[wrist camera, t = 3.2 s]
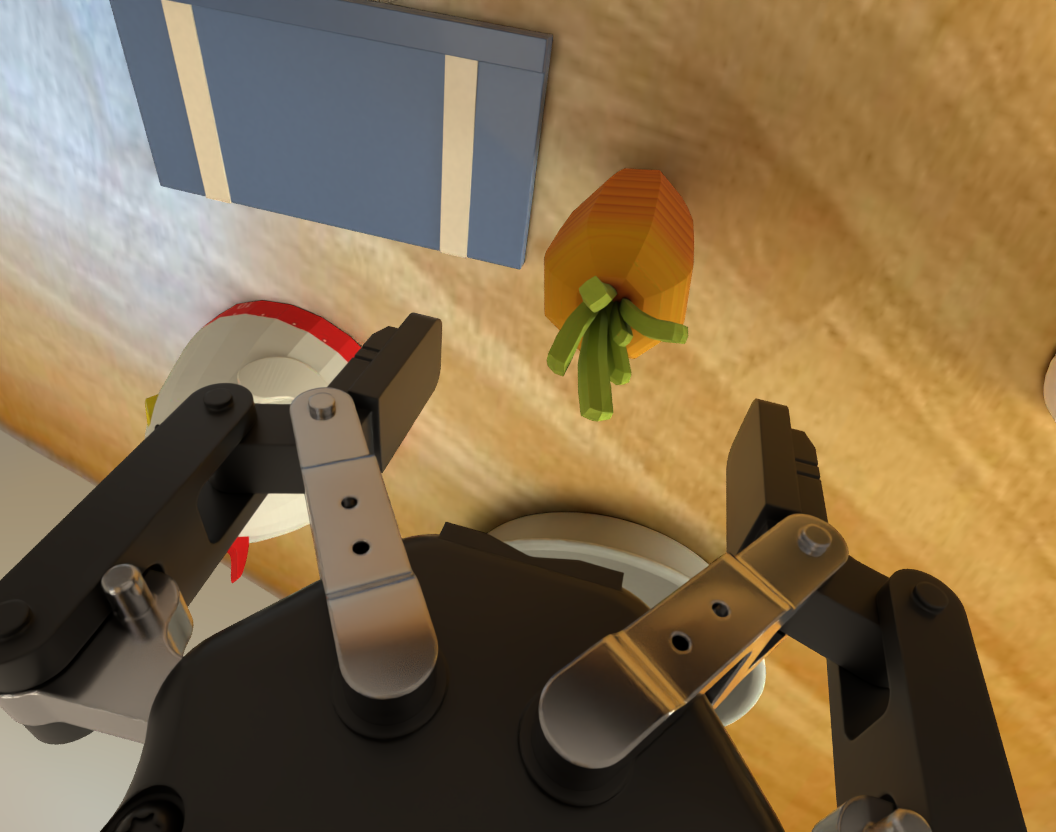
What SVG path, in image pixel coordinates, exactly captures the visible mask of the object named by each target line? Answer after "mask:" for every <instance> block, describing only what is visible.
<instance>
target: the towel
mask: <svg viewBox="0 0 1056 832" xmlns="http://www.w3.org/2000/svg"><path fill="white" fill-rule="evenodd" d="M109 1H110V4H111V8H112V11H113V15H114V19H115V22H116V26H117V30H118V33H119V37H120V40H121V44H122V48H123V51H124V55H125V58H126V62H127V66H128V69H129V73H130V77H131V80H132V84H133V87H134V91H135V95H136V98H137V102H138V106H139V109H140V113H141V116H142V120H143V124H144V127H145V131H146V135H147V138H148V142H149V145H150V149H151V153H152V156H153V160H154V163H155V167H156V171H157V174H158V178H159V182H160V185H161V186H163V187H168V188H172V189H176V190H181V191H185V192H189V193H194V194H198V195H202V196H206V198H209V199H213V200H218V201H222V202H226V203H236V204H241V205H245V206H249V207H254V208H258V209H262V210H267V211H271V212H275V213H279V214H284V215H288V216H292V217H297V218H301V219H305V220H309V221H314V222H318V223H322V224H327V225H331V226H335V227H340V228H344V229H348V230H352V231H357V232H361V233H365V234H370V235H374V236H378V237H382V238H387V239H391V240H395V241H400V242H404V243H408V244H413V245H417V246H421V247H425V248H430V249H434V250H438V251H440V252H441V253H445V254H449V255H454V256H458V257H462V258H467V257H468V258H473V259H477V260H481V261H486V262H490V263H494V264H498V265H503V266H507V267H511V268H516V269H521V267H522V265H523V264H524V260H525V252H526V244H527V236H528V228H529V221H530V213H531V205H532V197H533V189H534V182H535V174H536V166H537V158H538V150H539V142H540V135H541V127H542V119H543V111H544V103H545V95H546V88H547V80H548V72H549V64H550V56H551V48H552V41H553V35H551V34H546V33H540V32H535V31H530V30H524V29H519V28H514V27H508V26H503V25H498V24H492V23H487V22H482V21H476V20H471V19H466V18H460V17H455V16H450V15H444V14H439V13H434V12H428V11H423V10H418V9H412V8H407V7H402V6H396V5H391V4H386V3H380V2H375V1H370V0H109Z"/></svg>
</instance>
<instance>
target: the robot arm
mask: <svg viewBox="0 0 1056 832" xmlns="http://www.w3.org/2000/svg"><path fill="white" fill-rule="evenodd" d="M441 344H442V322H441V320H440V319H438V318H434V317H429V316H425V315H421V314H417V313H411V314H410V315H409V316H408V317H407V318H406V319H405V321H404V322H403V323H402V324H401V326H400V327H399V328H395V327H391V326H388V327H386V328H384V329H382V330H380V331H378V332H376V333H374V334H372V335H371V337H370V338H369V339H368V340H367V341H366V342H365V343H364V345H363V346H362V348H360V349H359V350H358V352H357V353H356V354H355V356H354V358H353V357H352V358H351V360H350V361H349V362H348V363H347V364H346V365H345V367H344V368H343V369H342V370H341V371H340V372H339V373H338V375H337V376H336V377H335V378H334V379H333V380H332V382H331V383H330V384H329V385H328V386H327V387H321V388H314V389H310V390H307V391H305V392H303V393H301V394H299V395H298V396H297V397H295V398H294V400H293V401H292V402H291V404H261V403H254V399H253V395H252V393H251V392H250V390H249V389H247V388H246V387H244V386H242V385H238V384H234V383H217V384H212V385H208V386H205V387H202V388H200V389H198V390H196V391H195V392H193V393H192V394H191V395H190V396H189V397H188V398H187V399H186V400H185V401H184V402H183V403H181V404H180V405H179V406H178V407H177V408H176V409H175V410H174V411H173V412H172V413H171V414H170V415H169V416H168V417H167V418H166V419H165V420H164V421H163V422H162V423H161V424H160V425H159V426H158V427H157V428H156V429H155V430H154V431H153V432H152V433H151V434H150V435H149V436H148V437H147V438H146V439H145V440H144V441H143V442H142V443H141V444H140V445H138V446H137V447H136V448H135V449H134V450H133V451H132V452H131V453H130V454H129V455H128V456H127V457H126V458H125V459H124V460H123V461H122V462H121V463H120V464H119V465H118V466H117V467H116V468H115V469H114V470H113V471H112V472H111V473H110V474H109V475H108V476H107V477H106V478H105V479H104V480H103V481H102V482H101V483H100V484H99V485H98V486H96V487H95V489H93V490H92V492H90V493H89V494H88V495H87V496H86V497H85V498H84V499H83V500H82V501H81V502H80V503H79V504H78V505H77V506H76V507H75V508H74V509H73V510H72V511H71V512H70V513H69V514H68V515H67V516H66V517H65V518H64V519H63V520H62V521H61V522H60V523H59V524H58V525H57V526H56V527H55V528H53V529H52V530H51V531H50V532H49V533H48V534H47V535H46V536H45V537H44V538H43V539H42V540H41V541H40V542H39V543H38V544H37V545H36V546H35V547H34V548H33V549H32V550H31V551H30V552H29V553H28V554H27V555H26V556H25V557H24V558H23V559H22V560H21V561H20V562H19V563H18V564H17V565H16V566H15V567H14V568H13V569H11V570H10V571H9V572H8V573H7V574H6V575H5V576H4V577H3V578H2V579H1V580H0V707H1V708H2V709H3V710H4V711H5V712H6V713H7V714H8V715H9V716H10V717H11V718H13V719H14V720H15V721H16V722H18V723H20V724H23V725H24V726H25V727H26V728H27V729H28V730H29V731H30V732H31V733H32V734H33V735H34V736H35V737H36V738H37V739H38V740H40V741H42V742H44V743H48V744H65V743H69V742H73V741H75V740H78V739H80V738H83V737H85V736H87V735H88V734H90V733H92V732H93V731H98V732H102V733H106V734H109V735H113V736H116V737H121V738H124V739H128V740H131V741H135V742H139V743H143V744H144V747H143V750H142V754H141V758H140V761H139V764H138V767H137V769H136V772H135V775H134V778H133V780H132V782H131V784H130V786H129V789H128V791H127V793H126V795H125V797H124V799H123V801H122V803H121V804H120V806H119V808H118V809H117V811H116V812H115V813H114V815H113V816H112V818H111V819H110V820H109V821H108V823H107V824H106V825H105V826H104V827H103V829H102V830H101V831H100V832H785V831H784V829H783V827H782V825H781V823H780V821H779V819H778V817H777V816H776V814H775V812H774V810H773V809H772V807H771V805H770V804H769V802H768V800H767V799H766V797H765V795H764V793H763V792H762V790H761V788H760V787H759V785H758V783H757V782H756V780H755V778H754V777H753V775H752V773H751V771H750V770H749V768H748V766H747V765H746V763H745V761H744V760H743V758H742V756H741V754H740V753H739V751H738V749H737V748H736V746H735V744H734V743H733V741H732V739H731V738H730V736H729V734H728V732H727V731H726V729H725V727H724V726H723V724H722V722H721V721H720V719H719V717H718V716H717V714H716V712H715V709H716V708H717V707H718V706H719V704H720V703H721V702H722V701H723V700H724V699H725V698H726V697H727V696H728V695H729V694H730V692H731V691H732V690H733V689H734V688H735V687H736V686H737V685H738V683H739V682H740V681H741V680H742V679H743V678H744V677H745V676H747V675H748V674H749V673H750V672H751V671H752V670H753V669H754V668H755V667H756V666H757V665H758V664H759V663H760V662H761V661H762V660H763V659H764V658H765V657H766V656H767V655H768V654H769V653H770V652H772V651H773V650H774V649H775V648H776V647H777V646H778V645H779V644H780V643H781V642H782V641H783V640H784V639H785V638H786V637H787V636H790V637H792V638H793V639H795V640H797V641H798V642H800V643H802V644H804V645H805V646H807V647H809V648H810V649H812V650H814V651H815V652H817V653H819V654H820V655H822V656H824V657H826V658H827V672H828V687H829V701H830V715H831V729H832V743H833V757H834V771H835V785H836V800H837V809H835V810H834V811H833V812H831V813H830V814H828V815H827V816H826V817H824V818H823V819H821V820H820V821H819V822H818V823H817V824H816V825H815V826H814V828H813V830H812V832H1027V829H1026V825H1025V822H1024V818H1023V815H1022V811H1021V808H1020V804H1019V800H1018V797H1017V793H1016V790H1015V786H1014V783H1013V779H1012V776H1011V772H1010V768H1009V765H1008V761H1007V758H1006V754H1005V751H1004V747H1003V744H1002V740H1001V736H1000V733H999V729H998V726H997V722H996V719H995V715H994V712H993V708H992V704H991V701H990V697H989V694H988V690H987V687H986V683H985V679H984V676H983V672H982V669H981V665H980V662H979V658H978V655H977V651H976V647H975V644H974V640H973V637H972V633H971V630H970V626H969V623H968V619H967V615H966V612H965V609H964V607H963V605H962V603H961V601H960V600H959V598H958V597H957V596H956V594H955V593H954V592H953V591H952V590H951V589H950V588H949V587H948V586H946V585H945V584H944V583H942V582H941V581H940V580H938V579H937V578H935V577H933V576H931V575H929V574H927V573H924V572H922V571H918V570H914V569H902V570H898V571H896V572H895V573H894V574H893V575H892V576H891V577H890V578H889V577H887V576H885V575H883V574H881V573H879V572H877V571H875V570H873V569H871V568H869V567H868V566H866V565H864V564H862V563H860V562H858V561H857V560H855V559H854V558H852V557H851V556H850V555H848V554H849V551H848V547H847V544H846V542H845V540H844V538H843V537H842V536H841V534H840V533H839V532H838V531H837V530H836V529H835V528H834V527H832V526H831V525H830V524H828V519H827V514H826V508H825V502H824V496H823V490H822V484H821V480H819V479H820V473H819V467H817V465H818V461H817V455H816V449H815V447H814V445H813V444H812V443H811V441H810V440H809V438H808V437H807V435H806V434H805V432H803V431H799V430H795V429H791V424H790V416H789V409H788V407H787V406H784V405H780V404H776V403H772V402H768V401H764V400H760V399H755V400H754V401H753V402H752V404H751V406H750V408H749V410H748V412H747V414H746V416H745V418H744V421H743V423H742V425H741V427H740V429H739V431H738V433H737V435H736V437H735V440H734V442H733V444H732V446H731V449H730V452H729V456H728V460H727V469H726V511H727V553H725V554H723V555H722V556H721V557H719V558H718V559H716V560H715V561H714V562H712V563H711V564H710V565H708V566H707V567H706V568H704V569H703V570H702V571H700V572H699V573H698V574H696V575H695V576H694V577H692V578H691V579H690V580H688V581H687V582H686V583H684V584H683V585H682V586H680V587H679V588H678V589H676V590H675V591H674V592H672V593H671V594H670V595H669V596H667V597H666V598H665V599H663V600H662V601H661V602H659V603H658V604H657V605H655V606H654V607H653V608H650V607H649V606H648V605H647V604H645V603H644V602H643V601H642V600H641V599H640V598H638V597H637V596H635V595H634V594H633V593H631V592H630V591H628V590H626V589H624V588H623V587H622V583H623V576H624V573H623V572H619V571H616V570H612V569H609V568H605V567H602V566H598V565H595V564H591V563H588V562H585V561H581V560H572V559H557V558H542V557H532V556H529V555H526V554H524V553H523V552H521V551H519V550H517V549H515V548H513V547H512V546H510V545H508V544H506V543H504V542H502V541H501V540H499V539H497V538H495V537H493V536H491V535H490V534H487V533H484V532H480V531H477V530H473V529H470V528H466V527H463V526H459V525H456V524H452V523H449V522H445V524H444V527H443V529H442V531H441V533H440V534H427V535H417V536H411V537H407V538H403V539H402V538H401V534H400V531H399V528H398V525H397V522H396V519H395V515H394V512H393V509H392V506H391V503H390V500H389V497H388V493H387V490H386V487H385V484H384V481H383V478H382V475H381V473H383V471H384V470H385V468H386V466H387V465H388V463H389V462H390V460H391V458H392V457H393V455H394V454H395V452H396V450H397V449H398V447H399V446H400V444H401V443H402V441H403V439H404V438H405V436H406V435H407V433H408V431H409V430H410V428H411V427H412V425H413V423H414V422H415V420H416V419H417V417H418V416H419V414H420V412H421V411H422V409H423V408H424V406H425V404H426V403H427V401H428V400H429V398H430V396H431V395H432V393H433V392H434V390H435V388H436V385H437V383H438V379H439V375H440V369H441ZM268 494H304V496H305V501H306V506H307V511H308V517H309V522H310V527H311V532H312V538H313V543H314V548H315V553H316V559H317V564H318V570H319V575H320V580H318V581H316V582H314V583H312V584H310V585H308V586H306V587H304V588H303V589H301V590H299V591H297V592H295V593H293V594H291V595H289V596H287V597H285V598H283V599H281V600H279V601H278V602H276V603H274V604H272V605H270V606H268V607H266V608H264V609H262V610H260V611H259V612H256V613H254V614H253V615H251V616H249V617H247V618H245V619H243V620H241V621H239V622H237V623H235V624H233V625H231V626H229V627H227V628H226V629H224V630H222V631H220V632H218V633H216V634H214V635H212V636H211V637H209V638H207V639H205V640H204V641H202V642H201V643H200V644H198V645H197V646H196V647H194V648H193V649H192V650H191V651H190V652H188V653H187V654H186V655H185V656H184V657H183V653H184V650H185V648H186V645H187V644H188V642H189V639H190V638H191V635H192V631H193V619H192V616H191V614H190V611H189V609H188V606H189V604H190V603H191V602H192V600H193V599H194V597H195V596H196V595H197V593H198V592H199V590H200V589H201V588H202V586H203V585H204V583H205V582H206V581H207V579H208V578H209V576H210V575H211V574H212V572H213V571H214V569H215V568H216V567H217V565H218V564H219V562H220V561H221V560H222V558H223V557H224V555H225V554H226V553H227V551H228V550H229V548H230V547H231V546H232V544H233V543H234V541H235V540H236V538H237V537H238V536H239V534H240V533H241V531H242V530H243V529H244V527H245V526H246V524H247V523H248V522H249V520H250V519H251V517H252V516H253V515H254V513H255V512H256V510H257V509H258V508H259V506H260V505H261V503H262V502H263V501H264V499H265V498H266V496H267V495H268Z"/></svg>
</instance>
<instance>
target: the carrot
mask: <svg viewBox="0 0 1056 832" xmlns="http://www.w3.org/2000/svg"><path fill="white" fill-rule="evenodd" d="M693 262H694V230H693V219H692V217H691V214H690V212H689V210H688V207H687V205H686V204H685V202H684V200H683V198H682V197H681V196H680V194H679V193H678V192H677V191H676V189H675V188H674V187H673V186H672V185H671V183H670V182H669V181H668V180H667V179H666V177H665V176H664V175H663V174H662V172H661V171H660V170H645V169H627V168H624V169H622V170H621V171H619V172H617V173H616V174H614V175H613V176H612V177H611V178H609V179H608V180H607V181H606V182H605V183H604V184H603V185H602V186H601V187H599V188H598V189H597V190H596V191H595V192H594V193H593V194H592V195H591V196H590V197H589V198H587V199H586V200H585V201H584V202H583V203H582V204H581V205H580V206H579V207H578V208H576V209H575V210H574V211H573V212H572V213H571V215H570V216H569V218H568V219H567V220H566V222H565V223H564V225H563V226H562V227H561V229H560V230H559V232H558V233H557V235H556V237H555V238H554V240H553V242H552V243H551V245H550V246H549V248H548V250H547V251H546V254H545V257H544V310H545V316H546V317H547V318H548V319H549V320H550V321H551V322H552V323H553V324H554V325H555V326H556V327H557V328H558V329H559V330H560V331H559V333H558V335H557V336H556V338H555V341H554V343H553V345H552V347H551V349H550V351H549V353H548V357H547V364H548V367H549V368H550V369H551V370H552V371H553V372H554V373H555V374H558V375H561V376H564V374H565V372H566V370H567V368H568V366H569V364H570V362H571V360H572V358H573V356H574V353H575V351H576V349H577V348H578V349H579V350H580V355H579V360H578V395H579V403H580V412H581V416H583V417H585V418H587V419H589V420H592V421H602V420H608V419H610V418H611V416H612V414H613V404H612V393H611V384H610V381H611V382H613V383H614V384H615V385H623V384H626V383H628V382H629V380H630V377H631V369H630V364H629V359H628V358H632V359H635V358H637V357H638V356H640V355H641V354H643V353H644V352H646V351H647V350H649V349H650V348H652V347H654V346H655V345H657V344H658V343H660V342H661V341H663V342H670V343H681V344H685V343H686V340H687V337H688V327H686V326H684V325H683V323H684V320H685V313H686V307H687V301H688V295H689V289H690V283H691V277H692V270H693Z"/></svg>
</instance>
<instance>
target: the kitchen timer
mask: <svg viewBox="0 0 1056 832" xmlns="http://www.w3.org/2000/svg"><path fill="white" fill-rule="evenodd" d="M360 348H361V347H360V346H359V345H358V344H357V343H356V342H355V341H354V340H353V339H352V338H351V337H350V336H348V335H347V334H345V333H344V332H343V331H341V330H340V329H338V328H337V327H335V326H334V325H332V324H331V323H329V322H328V321H326V320H325V319H324V318H322V317H319V316H317V315H315V314H312V313H310V312H307V311H305V310H303V309H300V308H298V307H295V306H293V305H289V304H282V303H276V302H270V301H264V300H261V301H254V302H247V303H240V304H236V305H235V306H233V307H231V308H230V309H228V310H226V311H225V312H223V313H221V314H220V315H218V316H217V317H216V318H214V319H213V320H212V321H210V322H209V323H208V324H207V325H205V326H204V327H203V328H201V329H200V330H199V331H198V332H197V333H196V334H195V335H194V337H193V338H192V339H191V340H190V342H189V343H188V344H187V346H186V347H185V349H184V350H183V352H182V354H181V355H180V357H179V359H178V360H177V362H176V364H175V365H174V367H173V369H172V370H171V372H170V374H169V376H168V377H167V379H166V381H165V383H164V385H163V386H162V388H161V390H160V392H159V394H158V395H155V396H152V397H150V398H147V399H146V400H145V408H146V416H147V427H146V433H145V439H146V438H147V437H148V436H149V435H150V434H151V433H152V432H153V431H154V430H155V429H156V428H157V427H158V426H159V425H160V424H161V423H162V422H163V421H164V420H165V419H166V418H167V417H168V416H169V415H170V414H171V413H172V412H173V411H174V410H175V409H176V408H177V407H178V406H179V405H180V404H181V403H183V402H184V401H185V400H186V399H187V398H188V397H189V396H190V395H191V394H192V393H193V392H195V391H196V390H198V389H200V388H202V387H205V386H208V385H212V384H217V383H234V384H238V385H242V386H244V387H246V388H247V389H249V390H250V392H251V393H252V395H253V399H254V403H261V404H291V402H292V401H293V400H294V398H295V397H297V396H298V395H299V394H301V393H303V392H305V391H307V390H310V389H314V388H321V387H327V386H328V385H329V384H330V383H331V382H332V380H333V379H334V378H335V377H336V376H337V375H338V373H339V372H340V371H341V370H342V369H343V368H344V367H345V365H346V364H347V363H348V362H349V361H350V360H351V358H352V357H353V358H354V356H355V354H356V353H357V352H358V350H359V349H360ZM309 523H310V522H309V517H308V511H307V506H306V501H305V496H304V494H268V495H267V496H266V498H265V499H264V501H263V502H262V503H261V505H260V506H259V508H258V509H257V510H256V512H255V513H254V515H253V516H252V517H251V519H250V520H249V522H248V523H247V524H246V526H245V527H244V529H243V530H242V531H241V533H240V534H239V536H238V537H237V538H236V540H235V541H234V543H233V544H232V546H231V547H230V548H229V550H228V551H227V552H228V553H229V555H230V557H231V582H232V583H234V582H235V581H236V580H237V579H239V578H240V577H241V575H242V573H243V570H244V567H245V563H246V559H247V554H248V547H249V543H253V542H258V541H262V540H266V539H270V538H273V537H277V536H280V535H284V534H286V533H289V532H292V531H294V530H297V529H299V528H301V527H303V526H306V525H308V524H309Z"/></svg>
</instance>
